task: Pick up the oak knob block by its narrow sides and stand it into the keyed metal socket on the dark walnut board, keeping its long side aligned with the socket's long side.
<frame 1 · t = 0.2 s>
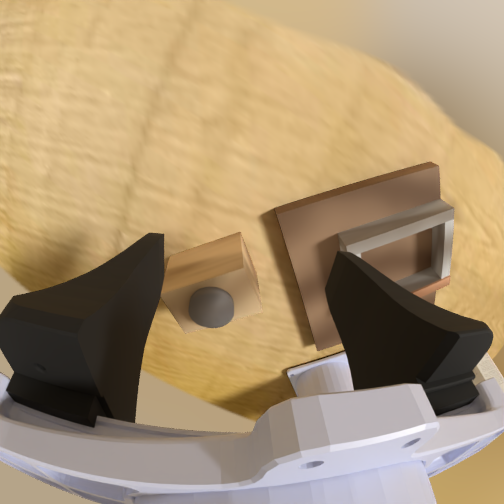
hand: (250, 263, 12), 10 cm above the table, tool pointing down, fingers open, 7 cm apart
knob block: (213, 263, 24), on the table
skincare box: (466, 353, 37), on the table
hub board: (371, 263, 25), on the table
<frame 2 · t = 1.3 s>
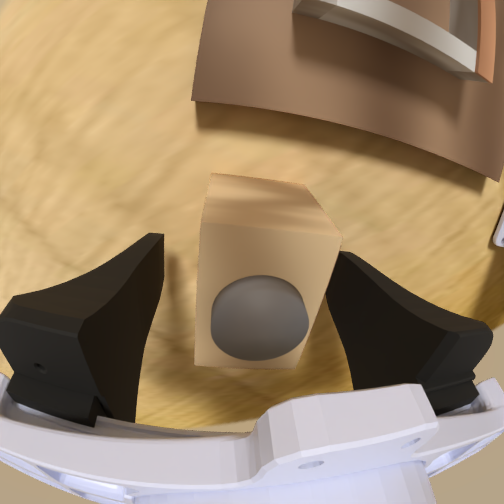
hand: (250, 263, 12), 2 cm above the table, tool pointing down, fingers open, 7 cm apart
knob block: (248, 239, 14), on the table
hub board: (401, 2, 8), on the table
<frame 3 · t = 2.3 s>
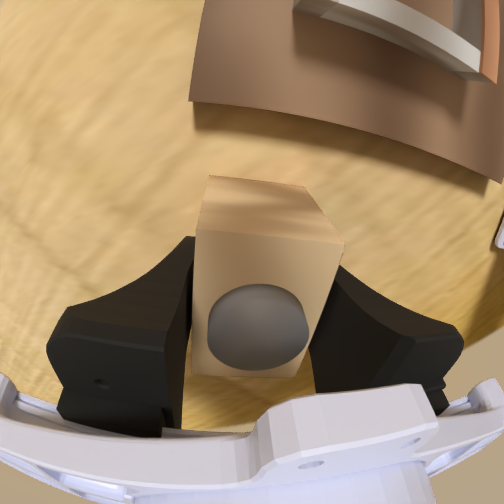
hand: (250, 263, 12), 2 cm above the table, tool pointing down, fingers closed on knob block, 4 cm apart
knob block: (247, 244, 13), on the table, touching gripper
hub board: (403, 0, 8), on the table
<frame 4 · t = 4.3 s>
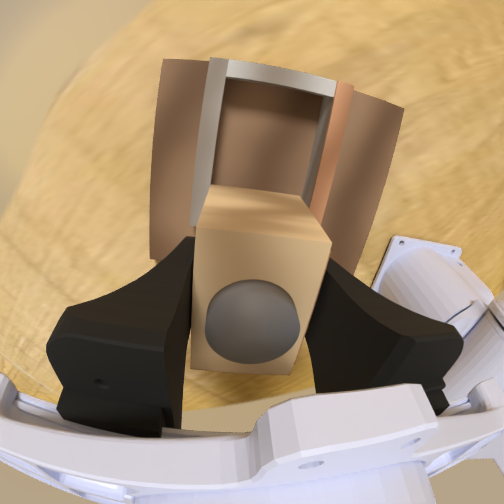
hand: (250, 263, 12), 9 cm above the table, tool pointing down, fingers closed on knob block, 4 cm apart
knob block: (246, 250, 14), point 7 cm above the table, touching gripper
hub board: (272, 174, 20), on the table
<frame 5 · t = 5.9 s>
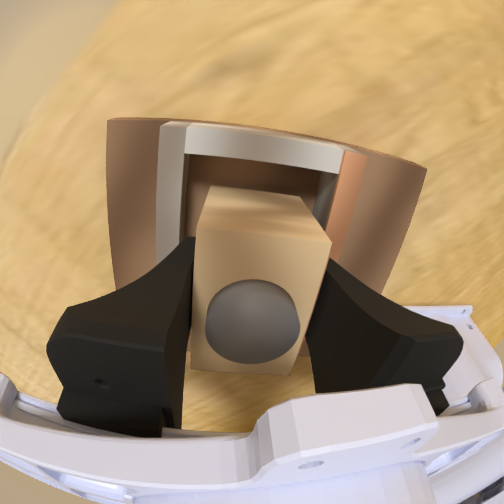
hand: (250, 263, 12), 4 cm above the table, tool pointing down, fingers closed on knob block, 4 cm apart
knob block: (246, 250, 14), point 2 cm above the table, touching gripper
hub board: (258, 256, 16), on the table
when the fingers open (4 cm above the table, at t = 6.5 s): knob block stays where it is, resting on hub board.
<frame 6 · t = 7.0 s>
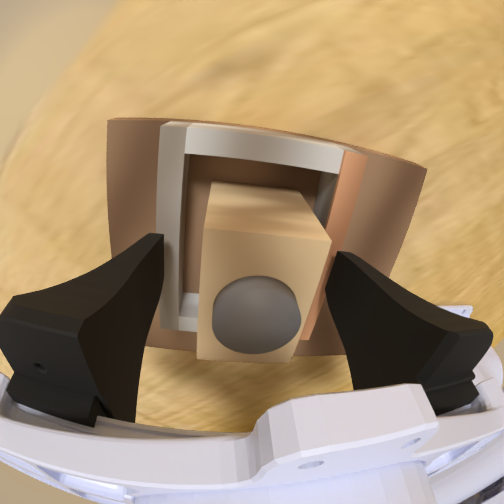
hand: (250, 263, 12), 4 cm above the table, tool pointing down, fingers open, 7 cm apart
knob block: (246, 242, 15), point 1 cm above the table, touching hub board
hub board: (258, 256, 16), on the table
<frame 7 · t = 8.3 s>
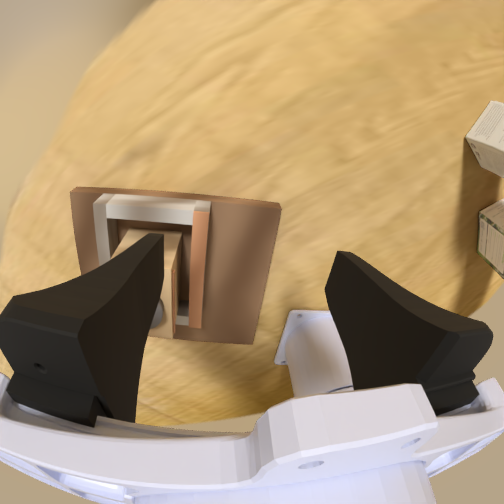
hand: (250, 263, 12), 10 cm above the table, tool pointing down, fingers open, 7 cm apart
knob block: (156, 263, 22), point 1 cm above the table, touching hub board
skincare box: (485, 132, 19), on the table
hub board: (169, 271, 24), on the table
syrup box: (490, 223, 24), on the table
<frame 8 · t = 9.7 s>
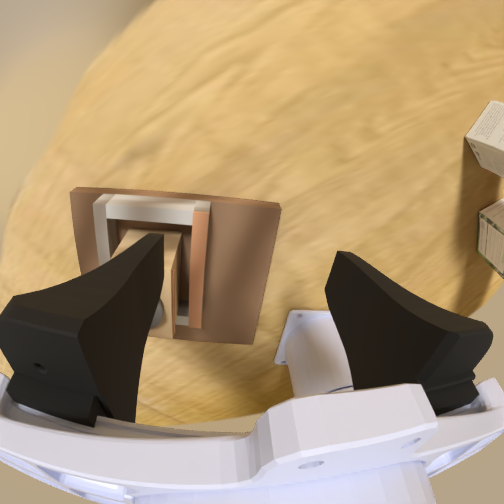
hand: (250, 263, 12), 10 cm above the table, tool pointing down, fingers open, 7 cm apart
knob block: (156, 263, 22), point 1 cm above the table, touching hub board
skincare box: (485, 132, 19), on the table
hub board: (169, 271, 24), on the table
syrup box: (490, 223, 24), on the table
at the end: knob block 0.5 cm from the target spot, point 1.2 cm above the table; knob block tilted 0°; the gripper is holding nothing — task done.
